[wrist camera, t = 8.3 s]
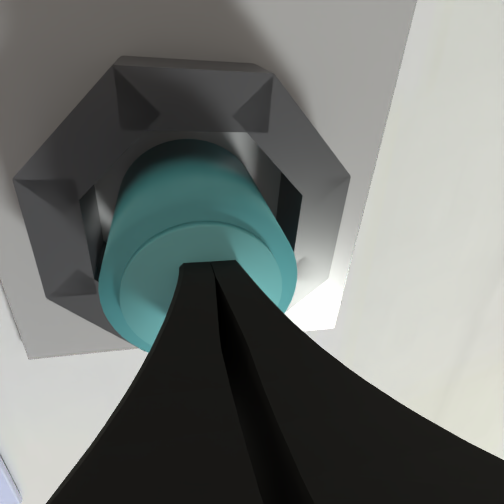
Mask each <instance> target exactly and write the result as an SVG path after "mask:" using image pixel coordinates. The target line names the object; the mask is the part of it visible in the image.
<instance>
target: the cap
mask: <svg viewBox="0 0 504 504" xmlns="http://www.w3.org/2000/svg"><path fill="white" fill-rule="evenodd" d="M226 260H236V261H237V262H238V263H239V264H240V265H241V266H242V268H243V269H244V270H245V271H246V272H247V274H248V275H249V276H250V277H251V278H252V279H253V281H254V282H255V283H256V284H257V285H258V286H259V287H260V289H261V290H262V291H263V292H264V293H265V294H266V295H267V296H268V297H269V298H270V299H271V300H272V301H273V303H274V304H275V305H276V306H277V307H278V308H279V309H280V310H281V311H282V312H283V313H285V312H286V310H287V308H288V307H289V305H290V303H291V301H292V298H293V295H294V292H295V288H296V283H297V264H296V259H295V255H294V252H293V250H292V248H291V245H290V243H289V241H288V240H287V238H286V236H285V234H284V233H283V231H282V229H281V227H280V226H279V224H278V222H277V220H276V219H275V217H274V215H273V214H272V212H271V210H270V208H269V207H268V205H267V203H266V201H265V200H264V198H263V196H262V194H261V193H260V191H259V189H258V187H257V186H256V184H255V182H254V181H253V179H252V177H251V175H250V174H249V172H248V170H247V169H246V167H245V166H244V165H243V164H242V162H241V161H240V160H239V159H238V158H237V157H236V156H234V155H233V154H232V153H231V152H229V151H228V150H226V149H224V148H223V147H221V146H218V145H216V144H214V143H210V142H207V141H203V140H197V139H179V140H173V141H168V142H165V143H162V144H159V145H157V146H155V147H153V148H151V149H149V150H147V151H146V152H145V153H143V154H142V155H141V156H139V157H138V158H137V159H136V160H135V161H134V162H133V164H132V165H131V166H130V167H129V169H128V170H127V172H126V174H125V176H124V177H123V180H122V183H121V185H120V189H119V193H118V198H117V202H116V206H115V210H114V215H113V219H112V223H111V227H110V232H109V236H108V240H107V245H106V249H105V253H104V257H103V262H102V266H101V271H100V275H99V287H98V291H99V298H100V303H101V306H102V309H103V312H104V314H105V316H106V317H107V319H108V321H109V322H110V324H111V325H112V326H113V328H114V329H115V330H116V331H117V332H118V333H119V334H120V335H121V336H122V337H123V338H124V339H126V340H127V341H128V342H130V343H131V344H133V345H135V346H136V347H138V348H140V349H142V350H144V351H147V352H149V351H150V349H151V347H152V345H153V343H154V341H155V339H156V337H157V335H158V333H159V330H160V328H161V326H162V324H163V322H164V319H165V317H166V314H167V312H168V309H169V306H170V304H171V301H172V298H173V295H174V292H175V289H176V285H177V281H178V276H179V267H180V266H181V265H182V264H183V263H191V262H210V261H226Z"/></svg>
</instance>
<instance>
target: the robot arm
mask: <svg viewBox="0 0 504 504" xmlns="http://www.w3.org/2000/svg"><path fill="white" fill-rule="evenodd" d="M0 504H22V497H21V495H20V493H19V491H18V489H17V488H16V486H15V484H14V482H13V480H12V478H11V476H10V474H9V472H8V470H7V468H6V466H5V464H4V462H3V460H2V458H1V456H0ZM46 504H504V460H502V459H500V458H498V457H496V456H494V455H492V454H490V453H488V452H486V451H484V450H482V449H480V448H478V447H476V446H474V445H472V444H471V443H469V442H467V441H465V440H463V439H461V438H459V437H458V436H456V435H454V434H452V433H451V432H449V431H447V430H445V429H444V428H442V427H440V426H438V425H436V424H435V423H433V422H431V421H429V420H428V419H426V418H424V417H422V416H421V415H419V414H417V413H416V412H414V411H412V410H411V409H409V408H407V407H406V406H404V405H402V404H401V403H399V402H398V401H396V400H394V399H393V398H391V397H390V396H388V395H387V394H385V393H384V392H382V391H381V390H379V389H378V388H376V387H375V386H373V385H372V384H370V383H369V382H367V381H366V380H364V379H363V378H361V377H360V376H358V375H357V374H356V373H354V372H353V371H351V370H350V369H349V368H347V367H346V366H345V365H343V364H342V363H341V362H340V361H338V360H337V359H336V358H334V357H333V356H332V355H330V354H329V353H328V352H327V351H325V350H324V349H323V348H321V347H320V346H319V345H318V344H317V343H316V342H314V341H313V340H312V339H311V338H310V337H309V336H308V335H306V334H305V333H304V332H303V331H302V330H301V329H300V328H299V327H298V326H297V325H296V324H294V323H293V322H292V321H291V320H290V319H289V318H288V317H287V316H286V315H285V314H284V313H283V312H282V311H281V310H280V309H279V308H278V307H277V306H276V305H275V304H274V303H273V301H272V300H271V299H270V298H269V297H268V296H267V295H266V294H265V293H264V292H263V291H262V290H261V289H260V287H259V286H258V285H257V284H256V283H255V282H254V281H253V279H252V278H251V277H250V276H249V275H248V274H247V272H246V271H245V270H244V269H243V268H242V266H241V265H240V264H239V263H238V262H237V261H236V260H226V261H210V262H191V263H183V264H182V265H181V266H180V267H179V276H178V281H177V285H176V289H175V292H174V295H173V298H172V301H171V304H170V306H169V309H168V312H167V314H166V317H165V319H164V322H163V324H162V326H161V328H160V330H159V333H158V335H157V337H156V339H155V341H154V343H153V345H152V347H151V349H150V351H149V353H148V355H147V357H146V359H145V361H144V363H143V365H142V366H141V368H140V370H139V372H138V373H137V375H136V377H135V379H134V380H133V382H132V384H131V385H130V387H129V389H128V390H127V392H126V393H125V395H124V397H123V398H122V400H121V401H120V403H119V404H118V406H117V407H116V409H115V410H114V412H113V413H112V415H111V416H110V418H109V419H108V421H107V423H106V424H105V426H104V427H103V428H102V430H101V431H100V433H99V434H98V436H97V437H96V438H95V440H94V441H93V443H92V444H91V445H90V447H89V448H88V449H87V451H86V452H85V453H84V455H83V456H82V457H81V459H80V460H79V461H78V463H77V464H76V465H75V466H74V468H73V469H72V470H71V472H70V473H69V474H68V476H67V477H66V478H65V479H64V481H63V482H62V483H61V485H60V486H59V487H58V489H57V490H56V491H55V492H54V494H53V495H52V496H51V498H50V499H49V500H48V502H47V503H46Z"/></svg>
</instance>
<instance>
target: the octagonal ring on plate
mask: <svg viewBox="0 0 504 504" xmlns="http://www.w3.org/2000/svg"><path fill="white" fill-rule="evenodd" d="M416 3H417V0H0V280H1V283H2V286H3V289H4V291H5V294H6V297H7V300H8V303H9V305H10V308H11V311H12V314H13V317H14V320H15V322H16V325H17V328H18V331H19V334H20V336H21V339H22V342H23V345H24V348H25V351H26V353H27V356H28V359H39V358H48V357H58V356H68V355H78V354H88V353H97V352H107V351H117V350H127V349H137V348H138V347H136V346H135V345H133V344H131V343H130V342H128V341H127V340H126V339H124V338H123V337H122V336H121V335H120V334H119V333H118V332H117V331H116V330H115V329H114V328H113V326H112V325H111V324H110V322H109V321H108V319H107V317H106V316H105V314H104V312H103V309H102V306H101V303H100V298H99V291H98V287H99V275H100V271H101V266H102V262H103V257H104V253H105V249H106V245H107V240H108V236H109V232H110V227H111V223H112V219H113V215H114V210H115V206H116V202H117V198H118V193H119V189H120V185H121V183H122V180H123V177H124V176H125V174H126V172H127V170H128V169H129V167H130V166H131V165H132V164H133V162H134V161H135V160H136V159H137V158H138V157H139V156H141V155H142V154H143V153H145V152H146V151H147V150H149V149H151V148H153V147H155V146H157V145H159V144H162V143H165V142H168V141H173V140H179V139H197V140H203V141H207V142H210V143H214V144H216V145H218V146H221V147H223V148H224V149H226V150H228V151H229V152H231V153H232V154H233V155H234V156H236V157H237V158H238V159H239V160H240V161H241V162H242V164H243V165H244V166H245V167H246V169H247V170H248V172H249V174H250V175H251V177H252V179H253V181H254V182H255V184H256V186H257V187H258V189H259V191H260V193H261V194H262V196H263V198H264V200H265V201H266V203H267V205H268V207H269V208H270V210H271V212H272V214H273V215H274V217H275V219H276V220H277V222H278V224H279V226H280V227H281V229H282V231H283V233H284V234H285V236H286V238H287V240H288V241H289V243H290V245H291V248H292V250H293V252H294V255H295V259H296V264H297V283H296V288H295V292H294V295H293V298H292V301H291V303H290V305H289V307H288V308H287V310H286V312H285V313H284V314H285V315H286V316H287V317H288V318H289V319H290V320H291V321H292V322H293V323H294V324H296V325H297V326H298V327H299V328H300V329H301V330H302V331H313V330H322V329H332V328H334V327H335V323H336V319H337V315H338V311H339V307H340V304H341V300H342V296H343V292H344V288H345V284H346V280H347V276H348V272H349V268H350V264H351V260H352V256H353V252H354V248H355V244H356V240H357V236H358V232H359V228H360V224H361V220H362V216H363V213H364V209H365V205H366V201H367V197H368V193H369V189H370V185H371V181H372V177H373V173H374V169H375V165H376V161H377V157H378V153H379V149H380V145H381V141H382V137H383V133H384V129H385V125H386V121H387V118H388V114H389V110H390V106H391V102H392V98H393V94H394V90H395V86H396V82H397V78H398V74H399V70H400V66H401V62H402V58H403V54H404V50H405V46H406V42H407V38H408V34H409V30H410V27H411V23H412V19H413V15H414V11H415V7H416ZM141 350H142V349H141ZM143 351H144V350H143Z"/></svg>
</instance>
